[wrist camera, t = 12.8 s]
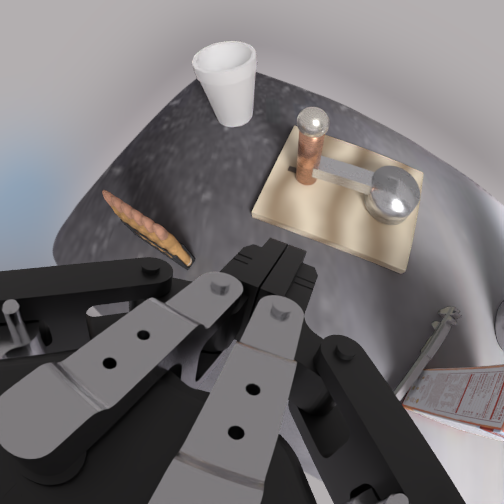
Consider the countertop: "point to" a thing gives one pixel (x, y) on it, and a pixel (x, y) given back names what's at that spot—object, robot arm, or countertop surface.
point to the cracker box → (461, 398)
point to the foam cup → (228, 80)
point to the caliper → (429, 348)
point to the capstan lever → (353, 173)
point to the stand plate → (336, 206)
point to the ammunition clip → (150, 231)
